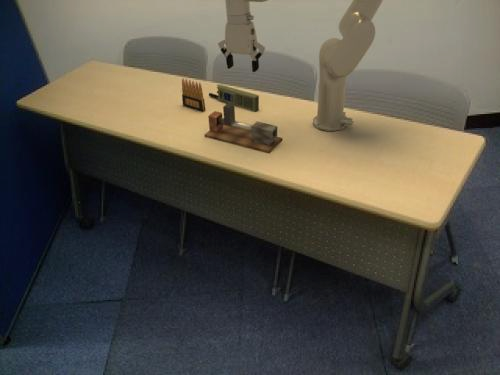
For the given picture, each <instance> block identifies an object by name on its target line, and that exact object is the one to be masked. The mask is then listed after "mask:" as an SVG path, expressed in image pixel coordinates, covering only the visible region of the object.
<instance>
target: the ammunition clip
mask: <svg viewBox="0 0 500 375" xmlns="http://www.w3.org/2000/svg"><path fill="white" fill-rule="evenodd" d="M181 92H182V95H181V97H182V98H181V99H182V107H186V108H188V109H191V110H194V111H197V112H201V113H203V112H205V111H206V104H205V98H204V93H203V88H202V83H201V82H199V83H198V82H197V81H194V80H192V82H191V80H190V79H187V78H185V79H184V78H183V77H182V78H181Z"/></svg>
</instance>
